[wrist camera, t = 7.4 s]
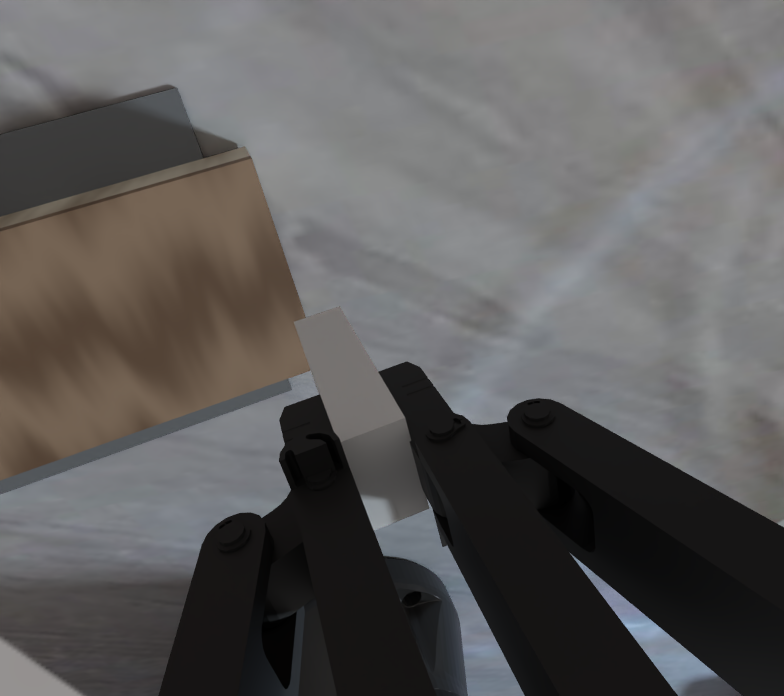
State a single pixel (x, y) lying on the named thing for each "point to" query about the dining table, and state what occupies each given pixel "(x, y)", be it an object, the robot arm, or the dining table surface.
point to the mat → (93, 171)
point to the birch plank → (139, 308)
